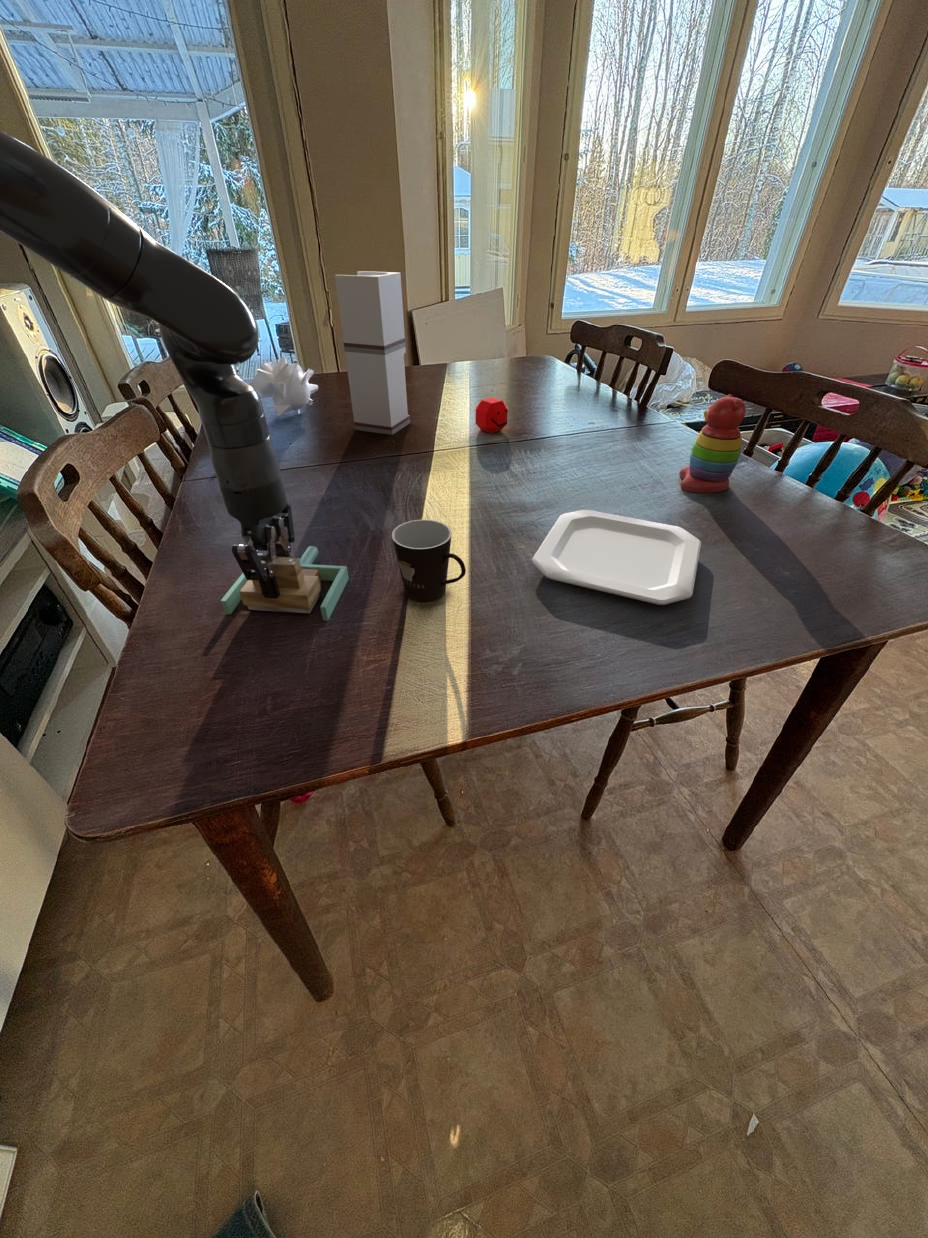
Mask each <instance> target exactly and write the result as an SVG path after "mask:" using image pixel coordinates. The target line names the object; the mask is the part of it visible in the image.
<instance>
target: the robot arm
mask: <svg viewBox="0 0 928 1238" xmlns="http://www.w3.org/2000/svg"><path fill="white" fill-rule="evenodd" d="M0 233H2V234H3V235H4V236H6V237H8V238H9V239H11V240H13V241H14V242H16V243H18V244H19V245H21V246H22V247H23V248H25V249H27V250H28V251H30V252H31V253H33V254H34V255H36V256H37V257H39V258H41V259H42V260H44V261H45V262H47V263H48V264H50V265H52V267H55V268H56V269H57V270H59V271H61V272H62V273H64V274H65V275H67V276H68V277H70V278H72V279H73V280H75V281H76V282H78V283H79V284H80V285H82V286H84V287H85V288H87V289H88V290H90V291H92V292H93V293H95V294H96V295H98V296H100V297H101V298H103V299H104V300H106V301H108V302H109V303H111V304H113V305H114V306H116V307H119V308H120V309H123V310H124V311H127V312H130V313H133V314H136V315H140V316H143V317H145V318H148V319H150V320H151V321H154V322H156V323H157V325H158V329H159V335H160V338H161V340H162V343H163V345H164V348H165V350H166V352H167V354H168V356H169V359H170V361H171V362H172V365H173V366H174V368H175V370H176V371H177V374H178V375H179V377H180V379H181V381H182V383H183V385H184V386H185V388H186V390H187V391H188V393H189V395H190V396H191V398H192V400H193V401H194V403H195V405H196V407H197V411H198V415H199V419H200V422H201V426H202V428H203V430H204V431H203V432H204V434H205V438H206V440H207V444H208V448H209V454H210V460H211V465H212V467H213V471H214V474H215V477H216V480H217V483H218V486H219V489H220V492H221V496H222V498H223V502H224V504H225V508H226V511H227V513H228V515H230V516H231V517H232V518H233V519H236V520H237V521H238V522H239V524H240V527H241V528H240V530H241V531H240V532H241V533H240V534H241V537H242V540H241V542H240V544H232V545H231V553H232V555H233V558H234V559H235V560H236V563H237V564H238V567H239V568H240V569H241V572H242V573H243V574H244V576H245V577H246V579H247V580H258V581H259V584H260V587H261V590H262V594H263V596H264V597H266V598H278V597H279V595H280V591H279V588H278V584H277V581H276V577H275V574H274V570H273V560H274V559H275V558H276V557H290V558H292V557H291V553H292V545H291V544H293V543H295V541H296V536H295V528H294V521H293V520H294V519H293V512H292V505H291V503H290V502H288V498H287V494H286V490H285V486H284V482H283V477H282V473H281V469H280V465H279V460H278V455H277V453H276V449H275V447H274V445H273V443H272V439H271V435H270V431H269V427H268V423H267V420H266V415H265V411H264V407H263V403H262V399H261V398H260V395H259V392H258V391H257V390H256V389H254V388H253V387H252V386H250V383H247V382H246V381H244V380H243V379H242V378H241V377H240V376H239V374H238V373H237V371H236V369H235V366H236V365H240V364H243V363H245V362H247V361H248V360H250V359H251V358H252V357H253V356H254V355H255V352H256V351H257V348H258V345H259V329H258V324H257V321H256V319H255V316H254V315H253V313H252V310H251V309H250V308H249V306H248V305H247V304H246V302H245V301H244V300H243V299H242V298H241V297H240V296H239V294H237V293H236V292H235V291H234V290H233V289H232V288H231V287H229V286H228V285H226V284H225V283H224V282H223V281H221V280H220V279H218V278H217V277H215V276H214V275H213V274H211V273H209V272H207V271H205V270H204V269H203V268H201V267H199V266H197V265H196V264H195V263H193V262H191V261H190V260H188V259H186V258H185V257H183V256H181V255H179V254H178V253H176V252H174V251H172V250H171V249H169V248H167V246H165V245H163V244H162V243H159V242H158V241H157V240H155V239H154V238H153V237H152V236H150V234H148V233H147V232H146V231H145V230H144V229H143V228H142V227H140V226H139V225H138V224H137V223H136V222H134V221H133V220H131V219H130V218H129V217H128V216H127V215H125V214H124V213H123V212H121V211H120V209H118V208H117V207H116V206H115V205H113V204H112V203H111V202H109V201H108V200H107V199H105V198H104V196H102V195H101V194H99V193H98V192H97V191H96V190H94V189H93V188H92V187H91V186H89V185H88V184H87V183H86V182H84V181H83V180H81V179H80V178H79V177H77V176H75V174H73V173H72V172H70V171H68V170H67V169H65V168H64V167H62V166H61V165H60V164H58V163H57V162H56V161H53V160H52V159H50V158H49V157H47V156H45V155H44V154H42V153H40V152H38V151H37V150H35V149H34V148H32V147H31V146H29V145H27V144H26V143H24V142H22V141H20V140H18V139H17V138H15V137H13V136H12V135H9V134H8V133H6V132H4V130H1V129H0ZM259 551H262V552H267V553H262V552H261V553H259ZM261 561H265V563H266V568H264V566H263V564H262V562H261ZM251 569H252V570H251Z"/></svg>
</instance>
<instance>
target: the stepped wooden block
mask: <svg viewBox="0 0 928 1238" xmlns="http://www.w3.org/2000/svg"><path fill="white" fill-rule="evenodd" d="M261 562H262V564H263V566H264V568H266V563H265V561H261ZM251 570H252V569H251ZM273 570H274V574H275V577H276V581H277V584H278V588H279V591H280V595H279V597H278V598H266V597H264V596H263V594H262V590H261V587H260V584H259V581H258V580H248V581H247V582H246V583H245V585H244V586H243V587H242V589H241V590H240V591H239V592H240V595H241V598H242V600H241V601H242V604H243V606H247V609H248V610H249V611H250V610H251V611H263V612H264V611H266V612H280V613H281V612H282V613H297V614H311V613H312V610H313V609H314V608H315V606H316V603H317V602H318V600H319V598H320V592H321V591H322V587H321V588H320V583H319V578H318V576H305V575H303V572H302V567H301V563H300V557H291V558H290V557H276V558H275V559H274V560H273Z"/></svg>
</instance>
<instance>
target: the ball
mask: <svg viewBox="0 0 928 1238" xmlns="http://www.w3.org/2000/svg"><path fill="white" fill-rule="evenodd" d="M508 409H509V408H508V406H507V404H506V403H505V402H504V400H502V399H499V398H495V397H489V398H485V399H481V400H480V401H479V402H478V403H477V405H476V406H475V425H476V426H477V427H478V428H479V429H480V430H481V431H483V432H487V433H489V434H493V433H496V432H500V431H502V430H503V429H504V428H505V427H506V426H507V425H508V411H509V410H508Z"/></svg>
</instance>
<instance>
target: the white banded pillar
mask: <svg viewBox="0 0 928 1238" xmlns="http://www.w3.org/2000/svg"><path fill="white" fill-rule="evenodd" d="M356 273H357V274H355V275H354V274H334V283H335V290H336V297H337V304H338V305H337V306H338V311H339V318H340V319H339V320H340V327H341V334H342V335H341V336H342V342H343V347H344V349H343V350H344V357H345V363H346V372H347V378H348V386H349V394H350V401H351V409H352V417H353V424H354V430H355V431H362V432H369V433H376V434H383V435H390V436H393V435H394V434H396V433H397V432H399V431H400V430H402V429H404V428H405V427H407V426H408V425H410V424H411V415H409V408H408V396H407V381H406V380H407V379H406V368H405V354H406V353H407V350H406V336H405V335H406V334H405V323H404V305H403V289H402V277H401V274H402V273H401V272H398V271H397V272H396V271H372V270H371V271H370V270H369V271H368V270H367V271H365V270H358V271H356Z"/></svg>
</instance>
